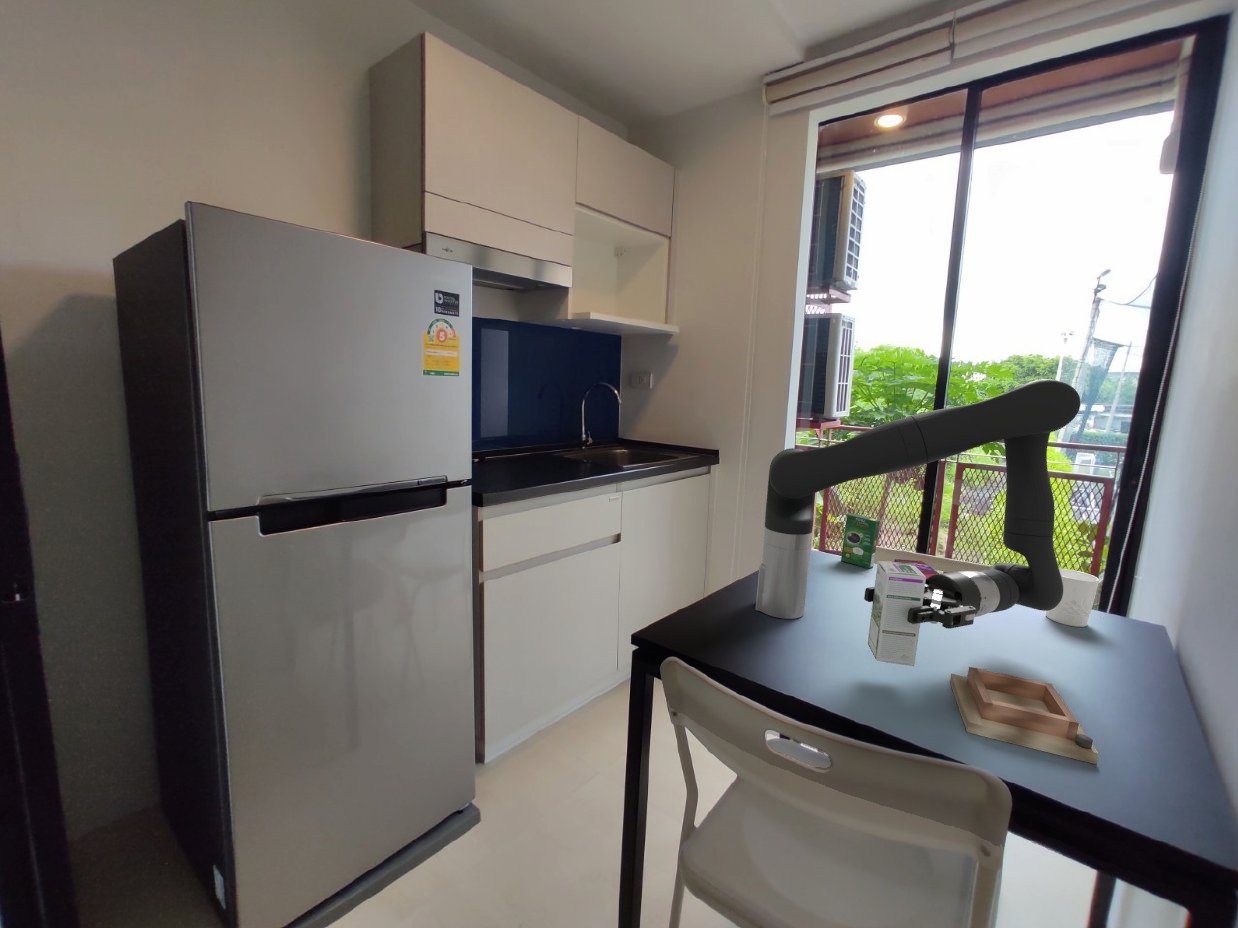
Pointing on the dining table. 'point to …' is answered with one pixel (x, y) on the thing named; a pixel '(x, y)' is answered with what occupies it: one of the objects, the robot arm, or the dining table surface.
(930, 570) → the smartphone
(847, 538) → the coffee box
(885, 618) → the syrup box
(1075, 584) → the white cup
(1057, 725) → the wooden cradle
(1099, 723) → the dining table surface
